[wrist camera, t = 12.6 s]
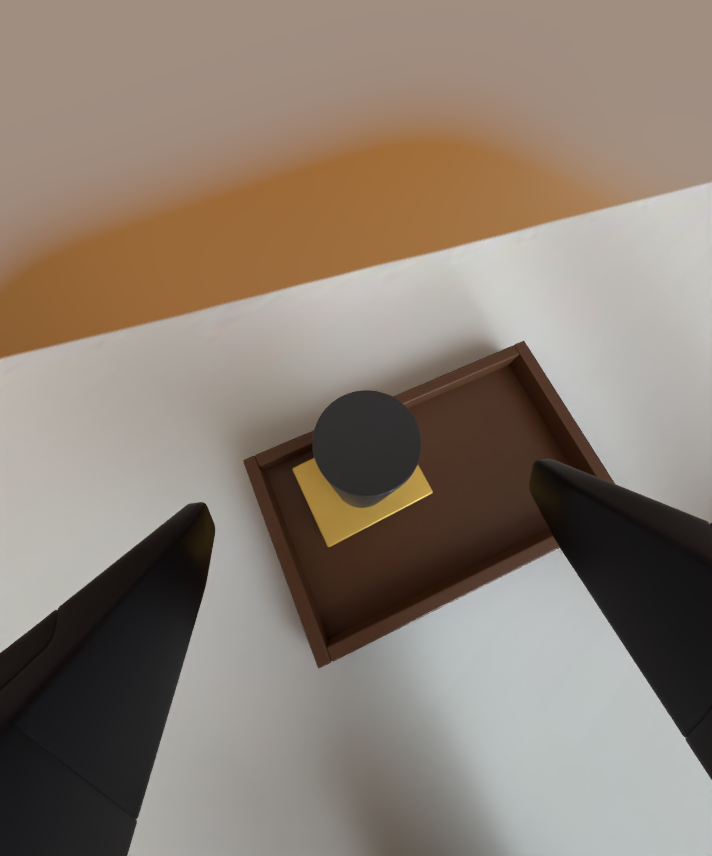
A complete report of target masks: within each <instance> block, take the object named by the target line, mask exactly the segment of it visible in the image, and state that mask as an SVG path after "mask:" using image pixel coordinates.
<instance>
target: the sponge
mask: <svg viewBox="0 0 712 856" xmlns="http://www.w3.org/2000/svg"><path fill="white" fill-rule="evenodd" d="M312 446H313V454H314V458H313V459H311V460H309V461H306V462H304V463H302V464H300V465H298V466H296V467H294V468H293V472H294V474H295V476H296V479H297V481H298V483H299V485H300V487H301V490H302V492H303V494H304V496H305V498H306V501H307V503H308V505H309V507H310V509H311V512H312V514H313V516H314V518H315V520H316V523H317V525H318V527H319V529H320V531H321V534H322V536H323V538H324V540H325V542H326V544H327V546H328V547H331V546H333V545H335V544H337V543H338V542H340V541H342V540H344V539H346V538H348V537H350V536H352V535H354V534H356V533H357V532H359V531H361V530H363V529H365V528H367V527H369V526H371V525H373V524H375V523H376V522H378V521H380V520H382V519H384V518H386V517H388V516H390V515H392V514H394V513H395V512H397V511H399V510H401V509H403V508H405V507H407V506H409V505H411V504H413V503H414V502H416V501H418V500H420V499H422V498H424V497H426V496H428V495H430V494H432V492H433V491H432V489H431V487H430V485H429V484H428V482H427V480H426V478H425V476H424V475H423V473H422V471H421V469H420V467H419V466H418V463H419V460H420V456H421V450H422V438H421V433H420V429H419V426H418V424H417V421H416V419H415V418H414V416H413V415H412V413H411V412H410V411H409V409H408V408H407V407H406V406H405V405H404V404H402V403H401V402H400V401H398V400H397V399H396V398H394V397H392V396H390V395H387V394H385V393H381V392H377V391H356V392H352V393H349V394H346V395H344V396H342V397H340V398H338V399H337V400H335V401H334V402H332V403H331V404H330V405H329V406H328V407H327V408H326V409H325V410H324V412H323V413H322V414H321V416H320V418H319V419H318V421H317V424H316V426H315V429H314V434H313V445H312Z"/></svg>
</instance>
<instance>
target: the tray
mask: <svg viewBox="0 0 712 856" xmlns="http://www.w3.org/2000/svg"><path fill="white" fill-rule="evenodd" d="M393 397H394V398H396V399H397V400H398V401H400V402H401V403H402V404H404V405H405V406H406V407H407V408H408V409H409V411H410V412H411V413H412V415H413V416H414V418H415V419H416V421H417V424H418V426H419V429H420V433H421V438H422V450H421V456H420V460H419V463H418V466H419V467H420V469H421V471H422V473H423V475H424V476H425V478H426V480H427V482H428V484H429V485H430V487H431V489H432V491H433V492H432V494H430V495H428V496H426V497H424V498H422V499H420V500H418V501H416V502H414V503H413V504H411V505H409V506H407V507H405V508H403V509H401V510H399V511H397V512H395V513H394V514H392V515H390V516H388V517H386V518H384V519H382V520H380V521H378V522H376V523H375V524H373V525H371V526H369V527H367V528H365V529H363V530H361V531H359V532H357V533H356V534H354V535H352V536H350V537H348V538H346V539H344V540H342V541H340V542H338V543H337V544H335V545H333V546H331V547H328V546H327V544H326V542H325V540H324V538H323V536H322V534H321V531H320V529H319V527H318V525H317V523H316V520H315V518H314V516H313V514H312V512H311V509H310V507H309V505H308V503H307V501H306V498H305V496H304V494H303V492H302V490H301V487H300V485H299V483H298V481H297V479H296V476H295V474H294V472H293V468H294V467H296V466H298V465H300V464H302V463H304V462H306V461H309V460H311V459H313V458H314V454H313V446H312V445H313V434H314V430H313V431H311V432H309V433H306V434H304V435H302V436H299V437H297V438H295V439H292V440H290V441H288V442H285V443H283V444H280V445H278V446H276V447H273V448H271V449H269V450H266V451H264V452H262V453H259V454H257V455H256V456H252V457H250V458H248V459H245V460H244V461H243V462H244V465H245V468H246V470H247V473H248V476H249V479H250V481H251V484H252V487H253V490H254V492H255V495H256V498H257V501H258V503H259V506H260V509H261V512H262V515H263V517H264V520H265V523H266V526H267V528H268V531H269V534H270V537H271V539H272V542H273V545H274V548H275V550H276V553H277V556H278V559H279V561H280V564H281V567H282V570H283V573H284V575H285V578H286V581H287V584H288V586H289V589H290V592H291V595H292V597H293V600H294V603H295V606H296V608H297V611H298V614H299V617H300V620H301V622H302V625H303V628H304V631H305V633H306V636H307V639H308V642H309V644H310V647H311V650H312V653H313V655H314V658H315V661H316V664H317V666H318V668H321V667H323V666H325V665H327V664H329V663H331V661H335V660H337V659H339V658H341V657H343V656H345V655H347V654H349V653H351V652H353V651H355V650H357V649H359V648H361V647H363V646H365V645H367V644H369V643H371V642H373V641H375V640H377V639H379V638H381V637H383V636H385V635H387V634H389V633H391V632H393V631H395V630H397V629H399V628H401V627H403V626H405V625H407V624H409V623H411V622H413V621H415V620H417V619H419V618H421V617H423V616H425V615H427V614H429V613H431V612H433V611H435V610H437V609H439V608H441V607H443V606H445V605H447V604H449V603H451V602H453V601H455V600H457V599H459V598H461V597H462V596H464V595H466V594H468V593H470V592H472V591H474V590H476V589H478V588H480V587H482V586H484V585H486V584H488V583H490V582H492V581H494V580H496V579H498V578H500V577H502V576H504V575H506V574H508V573H510V572H512V571H514V570H516V569H518V568H520V567H522V566H524V565H526V564H528V563H530V562H532V561H534V560H536V559H538V558H540V557H542V556H544V555H546V554H548V553H550V552H552V551H554V550H556V549H558V548H560V547H559V545H558V544H557V542H556V540H555V539H554V537H553V535H552V533H551V531H550V529H549V527H548V525H547V524H546V522H545V520H544V518H543V516H542V514H541V512H540V510H539V508H538V506H537V504H536V502H535V500H534V498H533V496H532V494H531V492H530V489H529V482H530V477H531V471H532V466H533V463H534V462H535V461H536V460H541V459H553V460H556V461H558V462H561V463H563V464H566V465H568V466H571V467H573V468H576V469H578V470H581V471H583V472H586V473H588V474H591V475H593V476H596V477H598V478H601V479H603V480H606V481H608V482H610V483H613V484H615V483H614V482H613V480H612V478H611V477H610V475H609V474H608V472H607V470H606V469H605V467H604V466H603V464H602V463H601V461H600V459H599V458H598V456H597V455H596V453H595V452H594V450H593V448H592V447H591V445H590V444H589V442H588V441H587V439H586V437H585V436H584V434H583V433H582V431H581V430H580V428H579V426H578V425H577V423H576V422H575V420H574V419H573V417H572V415H571V414H570V412H569V411H568V409H567V408H566V406H565V404H564V403H563V401H562V400H561V398H560V397H559V395H558V393H557V392H556V390H555V389H554V387H553V386H552V384H551V382H550V381H549V379H548V378H547V376H546V375H545V373H544V371H543V370H542V368H541V367H540V365H539V364H538V362H537V360H536V359H535V357H534V356H533V354H532V353H531V351H530V349H529V348H528V346H527V345H526V343H525V342H524V341H522V342H520V343H517V344H515V345H514V346H511V347H508V348H506V349H504V350H501V351H499V352H497V353H494V354H492V355H490V356H487V357H485V358H483V359H480V360H478V361H476V362H473V363H471V364H469V365H466V366H464V367H461V368H459V369H457V370H454V371H452V372H450V373H447V374H445V375H443V376H440V377H438V378H436V379H433V380H431V381H429V382H426V383H424V384H422V385H419V386H417V387H414V388H412V389H410V390H407V391H405V392H403V393H400V394H398V395H396V396H393Z"/></svg>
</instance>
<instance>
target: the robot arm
mask: <svg viewBox="0 0 712 856" xmlns="http://www.w3.org/2000/svg"><path fill="white" fill-rule="evenodd" d="M529 489H530V492H531V494H532V496H533V498H534V500H535V502H536V504H537V506H538V508H539V510H540V512H541V514H542V516H543V518H544V520H545V522H546V524H547V525H548V527H549V529H550V531H551V533H552V535H553V537H554V539H555V540H556V542H557V544H558V545H559V547H560V548H561V550H562V551H563V553H564V555H565V556H566V558H567V559H568V561H569V562H570V564H571V565H572V567H573V568H574V570H575V571H576V573H577V574H578V576H579V577H580V579H581V580H582V582H583V584H584V585H585V587H586V588H587V590H588V591H589V593H590V594H591V596H592V597H593V599H594V600H595V602H596V603H597V605H598V606H599V608H600V609H601V611H602V613H603V614H604V616H605V617H606V619H607V620H608V622H609V623H610V625H611V626H612V628H613V629H614V631H615V632H616V634H617V635H618V637H619V638H620V640H621V642H622V643H623V645H624V646H625V648H626V649H627V651H628V652H629V654H630V655H631V657H632V658H633V660H634V661H635V663H636V664H637V666H638V668H639V669H640V671H641V672H642V674H643V675H644V677H645V678H646V680H647V681H648V683H649V684H650V686H651V687H652V689H653V690H654V692H655V693H656V695H657V697H658V698H659V700H660V701H661V703H662V704H663V706H664V707H665V709H666V710H667V712H668V713H669V715H670V716H671V718H672V719H673V721H674V722H675V724H676V726H677V727H678V729H679V730H680V732H681V733H682V735H683V736H684V737H686V741H687V743H688V744H689V746H690V747H691V749H692V750H693V752H694V754H695V755H696V757H697V758H698V760H699V761H700V763H701V764H702V766H703V767H704V769H705V770H706V772H707V773H708V775H709V776H710V778H711V779H712V523H710V524H709V523H708V522H707V521H705V520H702V519H700V518H698V517H695V516H693V515H690V514H688V513H685V512H683V511H680V510H678V509H675V508H673V507H670V506H668V505H665V504H663V503H660V502H658V501H655V500H653V499H650V498H648V497H645V496H643V495H640V494H638V493H635V492H633V491H630V490H628V489H625V488H623V487H620V486H618V485H615V484H613V483H610V482H608V481H606V480H603V479H601V478H598V477H596V476H593V475H591V474H588V473H586V472H583V471H581V470H578V469H576V468H573V467H571V466H568V465H566V464H563V463H561V462H558V461H556V460H553V459H541V460H536V461H535V462H534V463H533V466H532V471H531V477H530V482H529ZM214 536H215V525H214V522H213V520H212V517H211V515H210V512H209V510H208V507H207V505H206V504H205V503H203V502H199V503H191V504H188V505H186V506H185V507H184V508H183V509H181V510H180V511H179V512H178V513H176V514H175V515H174V516H172V517H171V518H170V519H169V520H167V521H166V522H165V523H164V524H162V525H161V526H160V527H159V528H157V529H156V530H155V531H154V532H152V533H151V534H150V535H149V536H147V537H146V538H145V539H144V540H142V541H141V542H140V543H139V544H137V545H136V546H135V547H134V548H132V549H131V550H130V551H129V552H127V553H126V554H125V555H124V556H122V557H121V558H120V559H119V560H117V561H116V562H115V563H114V564H112V565H111V566H110V567H109V568H107V569H106V570H105V571H104V572H102V573H101V574H100V575H99V576H97V577H96V578H95V579H94V580H92V581H91V582H90V583H89V584H87V585H86V586H85V587H84V588H82V589H81V590H80V591H79V592H77V593H76V594H75V595H73V596H72V597H71V598H70V599H68V600H67V601H66V602H65V603H63V604H62V605H61V606H60V607H59V608H58V610H55V611H53V612H52V613H51V614H50V615H48V616H47V617H46V618H45V619H43V620H42V621H41V622H40V623H38V624H37V625H36V626H35V627H33V628H32V629H31V630H29V631H28V632H27V633H26V634H24V635H23V636H22V637H20V638H19V639H18V640H17V641H15V642H14V643H13V644H11V645H10V646H9V647H8V648H6V649H5V650H4V651H2V652H1V653H0V856H127V854H128V851H129V847H130V844H131V841H132V837H133V834H134V830H135V827H136V824H137V820H136V819H137V818H138V816H139V812H140V809H141V805H142V802H143V799H144V795H145V792H146V788H147V785H148V782H149V778H150V775H151V771H152V768H153V764H154V761H155V758H156V754H157V751H158V747H159V744H160V741H161V737H162V734H163V730H164V727H165V724H166V720H167V717H168V713H169V710H170V706H171V703H172V700H173V696H174V693H175V689H176V686H177V683H178V679H179V676H180V672H181V669H182V666H183V662H184V659H185V655H186V652H187V648H188V645H189V642H190V638H191V635H192V631H193V628H194V625H195V621H196V618H197V614H198V611H199V608H200V604H201V601H202V597H203V594H204V590H205V586H206V581H207V576H208V570H209V565H210V559H211V553H212V548H213V542H214Z"/></svg>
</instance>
